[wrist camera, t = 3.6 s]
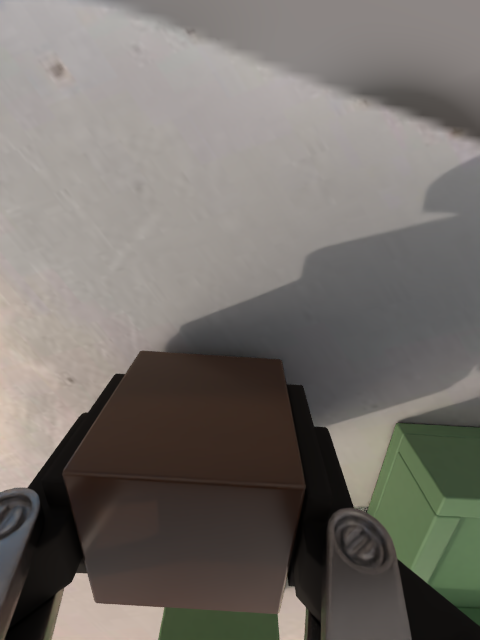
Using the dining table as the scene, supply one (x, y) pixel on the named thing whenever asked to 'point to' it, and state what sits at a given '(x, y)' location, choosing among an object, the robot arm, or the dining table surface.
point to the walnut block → (190, 485)
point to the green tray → (434, 507)
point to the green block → (217, 625)
